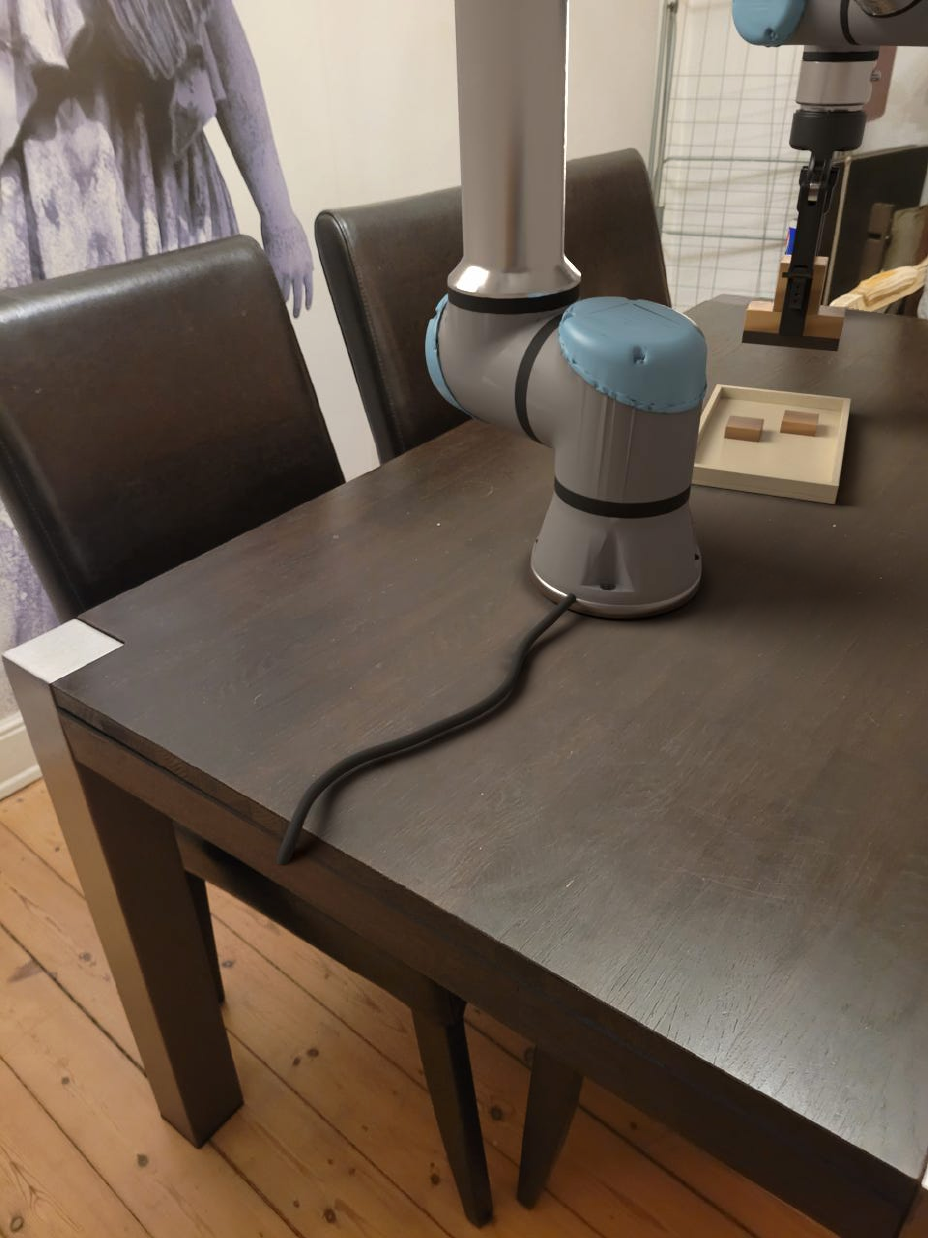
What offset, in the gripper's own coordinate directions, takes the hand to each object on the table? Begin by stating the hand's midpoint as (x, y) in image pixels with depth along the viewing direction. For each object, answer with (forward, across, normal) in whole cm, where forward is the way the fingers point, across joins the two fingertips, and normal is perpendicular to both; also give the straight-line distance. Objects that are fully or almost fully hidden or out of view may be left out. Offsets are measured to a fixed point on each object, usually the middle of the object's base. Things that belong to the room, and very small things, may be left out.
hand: (792, 328), depth 111 cm
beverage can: (+11, +49, +3) cm, 51 cm away
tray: (+11, -10, 0) cm, 15 cm away
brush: (+2, 0, 0) cm, 2 cm away
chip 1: (+10, -9, +3) cm, 14 cm away
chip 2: (+10, -5, -3) cm, 12 cm away
